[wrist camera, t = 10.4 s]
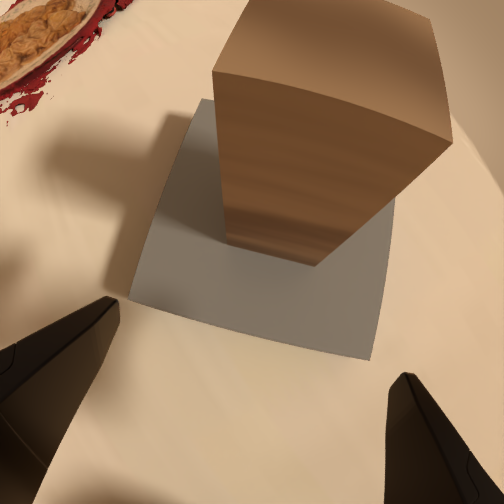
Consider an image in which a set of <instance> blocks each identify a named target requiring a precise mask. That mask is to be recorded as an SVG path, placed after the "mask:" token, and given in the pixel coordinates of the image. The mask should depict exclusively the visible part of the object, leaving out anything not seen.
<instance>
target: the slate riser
mask: <svg viewBox="0 0 504 504" xmlns="http://www.w3.org/2000/svg"><path fill="white" fill-rule="evenodd" d="M394 205H395V198H394V199H392V200H391V201H390V202H389V203H388V204H387V205H386V206H385V207H384V208H382V209H381V210H380V211H379V212H378V213H377V214H376V215H375V216H373V217H372V218H371V219H370V220H369V221H368V222H367V223H365V224H364V225H363V226H362V227H361V228H360V229H359V230H357V231H356V232H355V233H354V234H353V235H352V236H351V237H349V238H348V239H347V240H346V241H345V242H344V243H342V244H341V245H340V246H339V247H338V248H337V249H335V250H334V251H333V252H332V253H331V254H329V255H328V256H327V257H326V258H325V259H324V260H322V261H321V262H320V263H319V264H318V265H316V266H315V267H313V266H309V265H305V264H301V263H297V262H293V261H289V260H285V259H281V258H277V257H273V256H269V255H265V254H261V253H257V252H253V251H249V250H245V249H241V248H237V247H234V246H230V245H227V238H226V228H225V218H224V207H223V197H222V186H221V175H220V164H219V153H218V141H217V129H216V117H215V104H214V101H213V100H207V99H201V101H200V103H199V106H198V108H197V110H196V112H195V114H194V117H193V119H192V121H191V124H190V126H189V128H188V130H187V133H186V135H185V138H184V140H183V142H182V145H181V147H180V150H179V152H178V154H177V157H176V159H175V162H174V164H173V167H172V169H171V172H170V175H169V177H168V180H167V182H166V185H165V188H164V190H163V193H162V196H161V198H160V201H159V204H158V207H157V209H156V212H155V215H154V218H153V221H152V223H151V226H150V229H149V232H148V235H147V238H146V241H145V244H144V247H143V250H142V253H141V257H140V260H139V263H138V266H137V269H136V273H135V276H134V279H133V282H132V286H131V289H130V293H129V296H128V300H130V301H133V302H136V303H140V304H143V305H146V306H149V307H152V308H155V309H159V310H162V311H165V312H168V313H172V314H175V315H178V316H182V317H185V318H189V319H192V320H196V321H199V322H203V323H206V324H210V325H214V326H217V327H221V328H225V329H228V330H232V331H236V332H240V333H244V334H248V335H252V336H256V337H260V338H264V339H268V340H272V341H276V342H281V343H285V344H289V345H294V346H298V347H303V348H307V349H312V350H317V351H321V352H326V353H331V354H336V355H341V356H346V357H352V358H357V359H362V360H368V361H370V357H371V353H372V348H373V344H374V339H375V334H376V329H377V325H378V319H379V314H380V309H381V303H382V298H383V292H384V286H385V280H386V273H387V266H388V259H389V251H390V244H391V235H392V226H393V216H394Z"/></svg>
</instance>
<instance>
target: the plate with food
mask: <svg viewBox="0 0 504 504" xmlns="http://www.w3.org/2000/svg"><path fill="white" fill-rule="evenodd" d="M132 1H133V0H119V2H118V3H117V4H118V5H120V7H121V8H122V9H126V7H127V6H128V5H129V4H130V3H132ZM115 2H116V1H115V0H17V1H16V3H15V4H12V5H11V7H10V8H9V10H8V11H7V12H6V13H5V14H4V15H2V16H1V17H0V101H1V100H3V99H5V98H7V97H9V98H11V96H12V95H13V93H16V92H19V93H20V92H21V94H22V93H23V92H24V93H25V94H27V93H28V94H29V95H26V96H22V97H21V98H19V99H17V100H14V101H13V102H12V103H10V104H9V105H10V106H9V107H8V108H6V109H5V110H4V111H2V109H1V108H0V114H1V113H4V112H6V111H7V110H8V109H13V111H12V112H11V114H12V116H15V115H16V114H18V113H17V111H16V110H15V106H16V105H18V104H21V103H24V104H25V107H24V111H23V112H25V111H26V110H27V109H28V108H29V111H31V110H33V109H34V108H35V106H36V105H37V104H38V101H39V99H40V98H41V97H42V95H43V94H44V92H43V91H40V93H38V94H31V93H32V92H35V91H38V90H39V88H41V87H43V86H44V85H45V84H46V83H47V81H46V80H47V79H48V78H49V77H48V78H47V79H45V78H46V76H47V75H48V74H49V73H51V72H52V71H53V70H54V69H56V66H57V65H58V64H57V65H56V66H53V68H52V69H51V70H50V71H47V70H49V69H50V67H51V66H52V65H53V64H54V63H56V62H57V61H58V60H59V59H60V58H62V57H63V56H65V54H67V53H68V52H69V51H70V50H72V49H74V50H73V52H74V51H76V50H77V52H75V54H74V55H73V56H72V57H71V58H72V59H73V58H76V57H77V56H78V55H80V54H82V53H83V52H85V51H86V50H87V48H88V47H89V46H91V43H92V42H93V41H94V38H95V36H96V35H97V33H99V37H100V36H101V32H102V27H100V28H99V27H98V22H99V21H100V20H101V19H102V17H103V16H104V15H107V17H108V16H109V17H110V16H113V15H114V14H115V12H116V8H115V7H114V5H115ZM101 21H103V19H102V20H101ZM94 31H96V32H95V34H93V32H94ZM88 38H90V39H89V41H88V42H87V43H85V44H84V45H83V43H84V42H85V41H86V40H87V39H88ZM98 39H99V38H98ZM76 54H77V55H76ZM66 57H67V56H66ZM72 59H71V61H70V60H69V61H70V62H69V63H68V65H69V64H71V63H72V62H73V61H74V60H76V59H74V60H72ZM60 61H61V60H60ZM60 61H59V62H60ZM46 71H47V72H46ZM41 74H42V75H41ZM37 77H38V78H37ZM42 78H43V79H42ZM34 79H35V80H34ZM41 79H42V80H41ZM45 82H46V83H45ZM48 82H51V80H49V81H48ZM28 83H29V84H28ZM27 84H28V85H27ZM26 85H27V86H26ZM24 86H25V87H24ZM22 88H23V89H22ZM21 89H22V90H21ZM21 94H20V95H21ZM47 94H48V93H47ZM51 99H52V98H51ZM7 102H8V101H7ZM0 107H2V104H1V105H0ZM23 112H19V113H23ZM7 124H8V121H7Z"/></svg>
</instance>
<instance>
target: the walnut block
mask: <svg viewBox="0 0 504 504" xmlns="http://www.w3.org/2000/svg"><path fill="white" fill-rule="evenodd" d="M212 77H213V91H214V104H215V117H216V129H217V141H218V153H219V164H220V175H221V186H222V197H223V207H224V218H225V228H226V238H227V245H230V246H234V247H237V248H241V249H245V250H249V251H253V252H257V253H261V254H265V255H269V256H273V257H277V258H281V259H285V260H289V261H293V262H297V263H301V264H305V265H309V266H313V267H315V266H316V265H318V264H319V263H320V262H321V261H322V260H324V259H325V258H326V257H327V256H328V255H329V254H331V253H332V252H333V251H334V250H335V249H337V248H338V247H339V246H340V245H341V244H342V243H344V242H345V241H346V240H347V239H348V238H349V237H351V236H352V235H353V234H354V233H355V232H356V231H357V230H359V229H360V228H361V227H362V226H363V225H364V224H365V223H367V222H368V221H369V220H370V219H371V218H372V217H373V216H375V215H376V214H377V213H378V212H379V211H380V210H381V209H382V208H384V207H385V206H386V205H387V204H388V203H389V202H390V201H391V200H392V199H394V198H395V197H396V196H397V195H398V194H399V193H400V192H401V191H402V190H403V189H405V188H406V187H407V186H408V185H409V184H410V183H411V182H412V181H413V180H414V179H415V178H417V177H418V176H419V175H420V174H421V173H422V172H423V171H424V170H425V169H426V168H427V167H428V166H429V165H430V164H432V163H433V162H434V161H435V160H436V159H437V158H438V157H439V156H440V155H441V154H442V153H443V152H444V151H445V150H446V149H447V148H448V147H449V146H450V145H451V144H452V143H453V137H452V128H451V120H450V113H449V106H448V99H447V94H446V87H445V82H444V77H443V71H442V67H441V62H440V58H439V53H438V49H437V45H436V41H435V37H434V33H433V29H432V26H431V22H430V19H428V18H425V17H423V16H421V15H418V14H416V13H414V12H412V11H410V10H407V9H405V8H402V7H400V6H397V5H395V4H392V3H389V2H387V1H384V0H249V2H248V4H247V5H246V7H245V9H244V11H243V12H242V14H241V16H240V18H239V20H238V21H237V23H236V25H235V27H234V29H233V31H232V33H231V34H230V36H229V38H228V40H227V42H226V44H225V46H224V48H223V50H222V52H221V54H220V56H219V58H218V60H217V62H216V64H215V66H214V68H213V70H212Z"/></svg>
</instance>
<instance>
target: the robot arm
mask: <svg viewBox="0 0 504 504" xmlns="http://www.w3.org/2000/svg"><path fill="white" fill-rule="evenodd" d="M119 323H120V311H119V302H118V300H117V299H115V298H112V297H109V296H104V297H102V298H100V299H98V300H96V301H94V302H92V303H91V304H89V305H87V306H85V307H83V308H81V309H79V310H77V311H75V312H73V313H71V314H69V315H67V316H65V317H63V318H61V319H59V320H58V321H56V322H54V323H52V324H50V325H48V326H46V327H44V328H42V329H40V330H38V331H37V332H35V333H33V334H31V335H29V336H27V337H25V338H23V339H21V340H20V341H18V342H16V343H14V344H12V345H10V346H8V347H6V348H4V349H2V350H0V504H32V503H33V501H34V499H35V497H36V494H37V492H38V490H39V488H40V485H41V483H42V481H43V479H44V477H45V474H46V472H47V470H48V468H49V466H50V463H51V461H52V459H53V457H54V455H55V453H56V451H57V449H58V447H59V445H60V443H61V441H62V439H63V437H64V435H65V433H66V431H67V429H68V427H69V425H70V423H71V421H72V419H73V417H74V415H75V414H76V412H77V410H78V408H79V406H80V404H81V402H82V400H83V398H84V397H85V395H86V393H87V391H88V389H89V387H90V386H91V384H92V382H93V380H94V378H95V377H96V375H97V373H98V371H99V369H100V367H101V365H102V363H103V361H104V359H105V356H106V354H107V352H108V349H109V347H110V345H111V342H112V340H113V338H114V335H115V333H116V331H117V328H118V326H119ZM384 504H504V494H503V493H502V492H501V490H500V489H499V488H498V487H497V485H496V484H495V483H494V482H493V480H492V479H491V478H490V477H489V475H488V474H487V473H486V471H485V470H484V469H483V468H482V466H481V465H480V463H479V462H478V461H477V459H476V458H475V456H474V455H473V453H472V452H471V451H470V449H469V448H468V446H467V445H466V443H465V442H464V440H463V439H462V438H461V436H460V435H459V433H458V432H457V430H456V429H455V428H454V426H453V425H452V423H451V422H450V421H449V419H448V418H447V416H446V415H445V414H444V412H443V411H442V410H441V408H440V407H439V405H438V404H437V403H436V401H435V400H434V399H433V397H432V396H431V395H430V393H429V392H428V391H427V389H426V388H425V387H424V385H423V384H422V383H421V381H420V380H419V379H418V377H417V376H416V375H415V374H414V373H408V372H403V373H402V374H401V375H400V376H399V377H398V378H397V380H396V381H395V382H394V383H393V384H392V386H391V387H390V389H389V393H388V408H387V420H386V433H385V492H384Z"/></svg>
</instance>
